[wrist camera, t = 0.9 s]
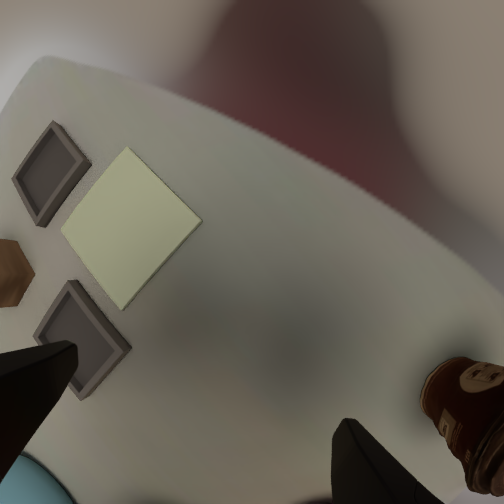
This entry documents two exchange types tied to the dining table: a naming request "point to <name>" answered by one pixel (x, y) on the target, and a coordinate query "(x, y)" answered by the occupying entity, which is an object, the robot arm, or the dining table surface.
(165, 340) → the dining table surface
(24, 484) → the sugar bowl
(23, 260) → the walnut block
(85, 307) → the tray
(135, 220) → the pad
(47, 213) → the tray
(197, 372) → the dining table surface
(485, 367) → the coffee cup
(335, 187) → the dining table surface
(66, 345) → the robot arm
